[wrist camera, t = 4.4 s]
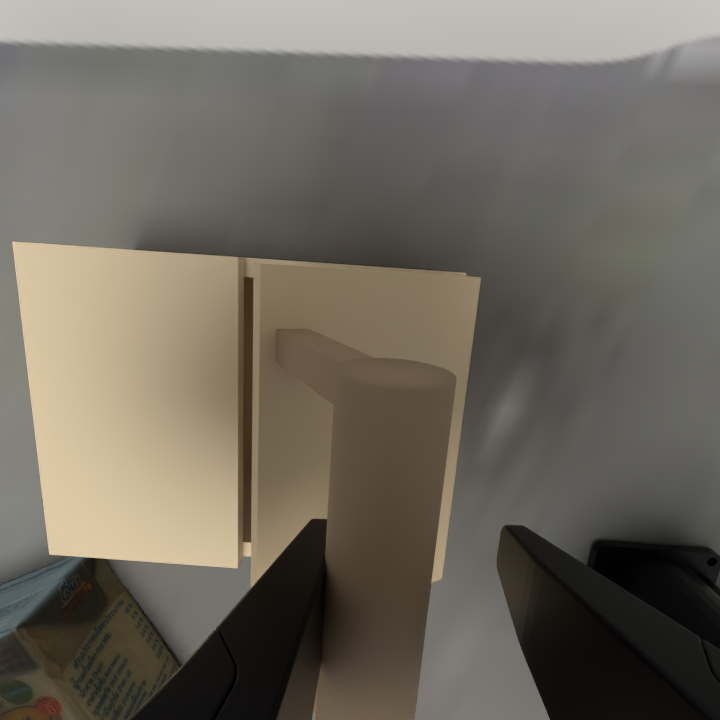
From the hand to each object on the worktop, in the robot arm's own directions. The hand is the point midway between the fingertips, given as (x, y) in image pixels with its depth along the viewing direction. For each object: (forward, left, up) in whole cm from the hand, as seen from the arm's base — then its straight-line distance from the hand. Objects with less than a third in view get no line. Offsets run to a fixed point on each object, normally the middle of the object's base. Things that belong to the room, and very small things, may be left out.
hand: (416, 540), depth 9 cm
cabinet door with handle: (+1, 0, -4) cm, 4 cm away
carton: (+5, 0, -12) cm, 13 cm away
